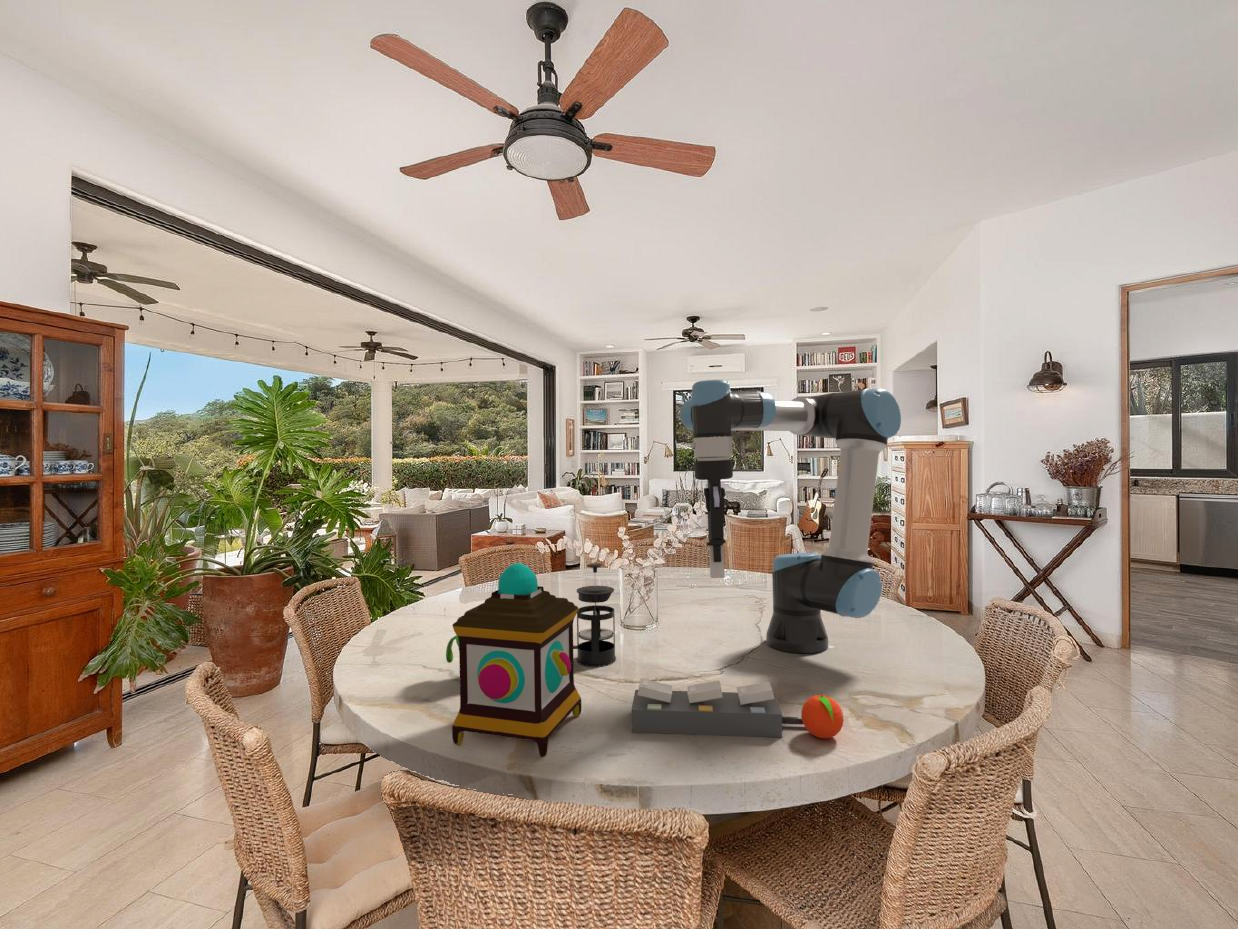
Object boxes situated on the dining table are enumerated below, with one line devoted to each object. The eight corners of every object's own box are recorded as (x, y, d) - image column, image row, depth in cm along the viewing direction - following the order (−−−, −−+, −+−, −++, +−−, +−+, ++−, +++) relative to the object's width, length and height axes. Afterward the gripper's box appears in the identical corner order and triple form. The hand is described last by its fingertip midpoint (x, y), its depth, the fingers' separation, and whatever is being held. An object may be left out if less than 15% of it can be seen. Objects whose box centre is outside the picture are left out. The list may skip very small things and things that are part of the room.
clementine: (853, 748, 100) (853, 705, 100) (813, 750, 99) (812, 707, 99) (833, 726, 108) (832, 686, 108) (795, 728, 107) (795, 688, 107)
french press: (618, 653, 149) (617, 560, 148) (618, 666, 139) (617, 567, 139) (571, 653, 149) (570, 560, 148) (567, 667, 139) (566, 568, 139)
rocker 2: (721, 688, 111) (719, 679, 111) (722, 697, 107) (720, 687, 107) (689, 694, 112) (687, 685, 112) (689, 703, 108) (687, 693, 108)
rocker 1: (670, 693, 112) (672, 684, 112) (670, 702, 108) (672, 693, 108) (639, 686, 113) (640, 677, 113) (637, 694, 109) (639, 685, 109)
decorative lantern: (497, 701, 121) (494, 552, 120) (591, 712, 115) (588, 555, 114) (440, 749, 101) (436, 571, 101) (549, 765, 96) (546, 576, 95)
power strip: (807, 715, 112) (807, 692, 112) (818, 738, 103) (817, 713, 103) (635, 710, 115) (635, 688, 115) (631, 732, 107) (631, 708, 106)
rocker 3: (771, 690, 110) (768, 680, 110) (774, 698, 106) (772, 689, 106) (738, 695, 111) (736, 686, 111) (740, 704, 107) (738, 695, 107)
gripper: (692, 458, 126) (697, 570, 127) (695, 461, 113) (700, 585, 114) (729, 457, 126) (733, 569, 127) (735, 459, 113) (740, 584, 114)
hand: (717, 577), depth 120 cm, fingers closed
